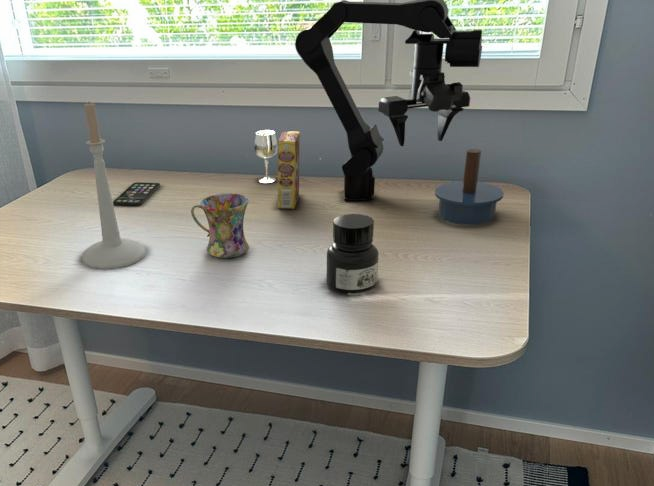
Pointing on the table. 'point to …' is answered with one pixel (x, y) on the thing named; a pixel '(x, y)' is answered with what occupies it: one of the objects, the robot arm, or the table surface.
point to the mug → (224, 224)
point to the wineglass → (266, 150)
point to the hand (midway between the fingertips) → (420, 143)
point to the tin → (466, 213)
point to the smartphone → (136, 194)
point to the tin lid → (469, 186)
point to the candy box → (288, 169)
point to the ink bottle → (352, 255)
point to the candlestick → (107, 211)
